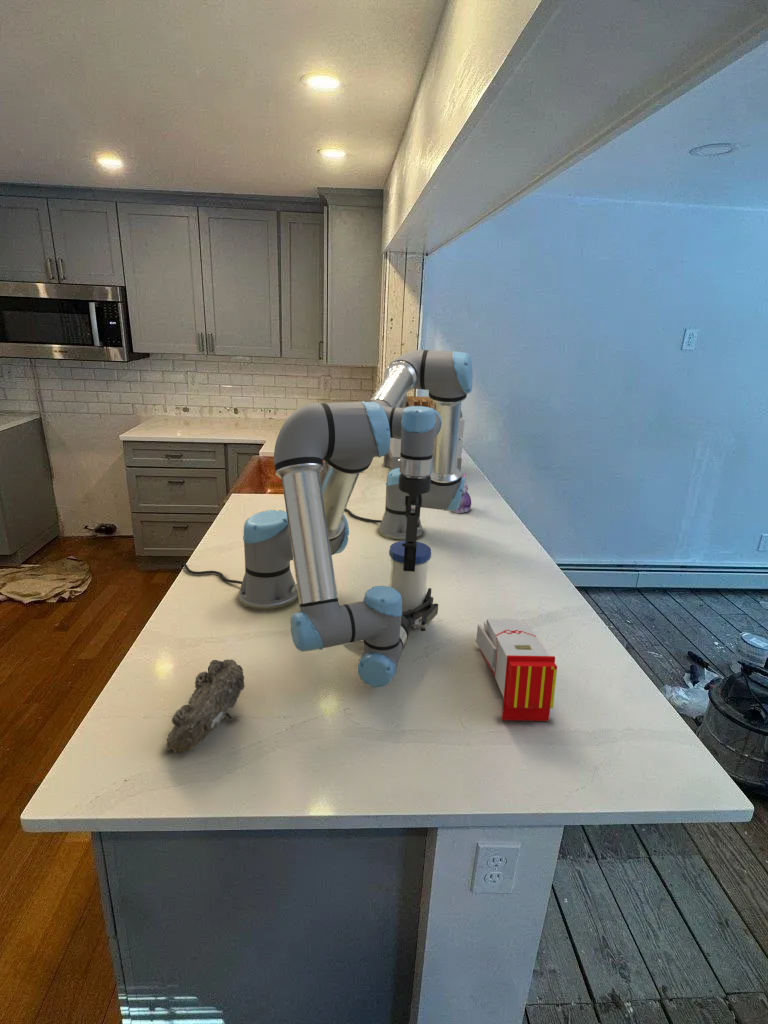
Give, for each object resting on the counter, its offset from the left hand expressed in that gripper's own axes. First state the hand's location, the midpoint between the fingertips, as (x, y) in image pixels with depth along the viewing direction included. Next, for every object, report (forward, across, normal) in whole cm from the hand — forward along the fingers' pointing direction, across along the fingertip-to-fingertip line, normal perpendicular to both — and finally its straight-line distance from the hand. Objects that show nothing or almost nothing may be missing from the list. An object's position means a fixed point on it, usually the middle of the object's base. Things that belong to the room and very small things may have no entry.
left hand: (410, 590), depth 147 cm
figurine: (+85, +4, -6) cm, 86 cm away
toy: (-22, +26, -6) cm, 35 cm away
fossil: (-51, -28, -6) cm, 59 cm away
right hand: (-4, 0, +10) cm, 11 cm away
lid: (-4, 0, +13) cm, 14 cm away
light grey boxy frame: (+132, -21, -6) cm, 134 cm away
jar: (-4, 0, -6) cm, 8 cm away
